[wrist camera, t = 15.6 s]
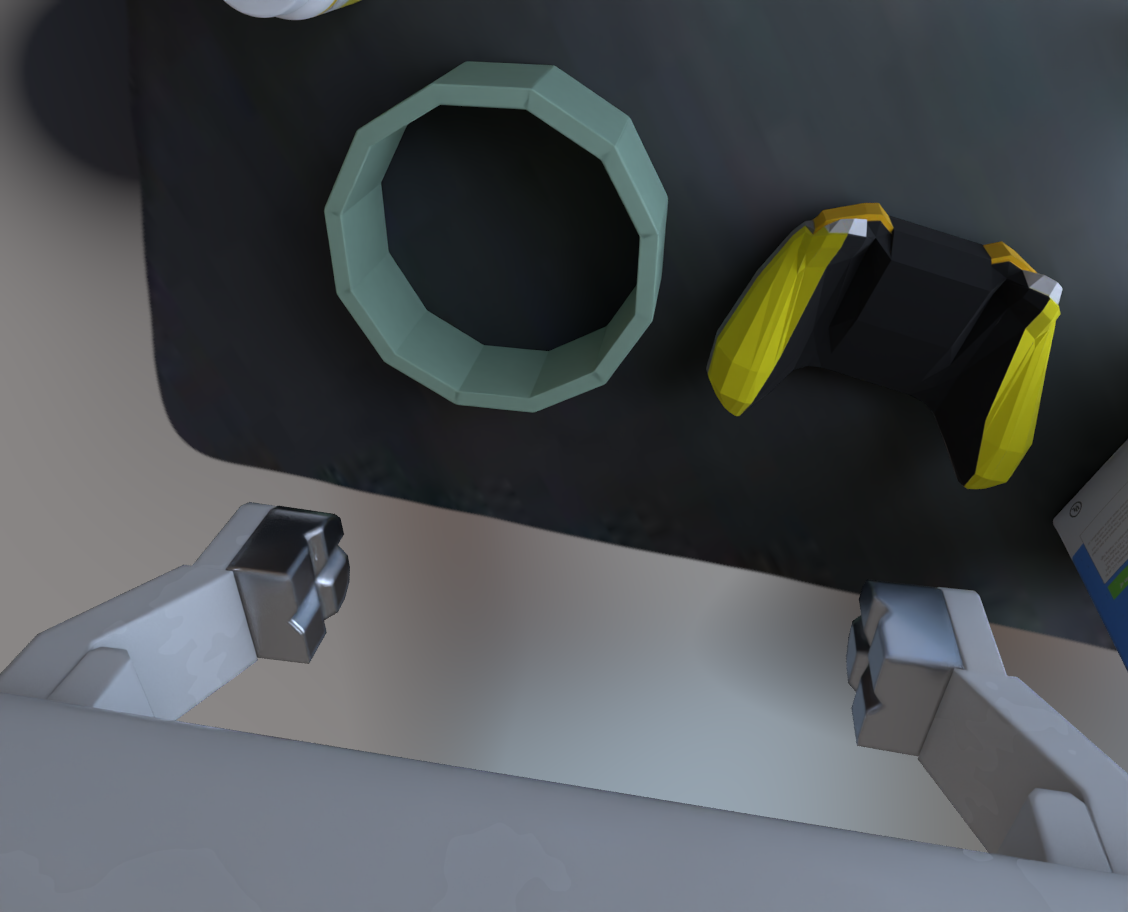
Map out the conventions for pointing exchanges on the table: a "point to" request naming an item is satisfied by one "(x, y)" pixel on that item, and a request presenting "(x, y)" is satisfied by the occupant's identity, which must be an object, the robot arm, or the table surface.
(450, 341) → the ring
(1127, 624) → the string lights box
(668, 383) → the table surface
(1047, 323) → the gaming controller
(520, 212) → the table surface
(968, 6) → the table surface
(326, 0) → the supplement bottle
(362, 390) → the table surface
